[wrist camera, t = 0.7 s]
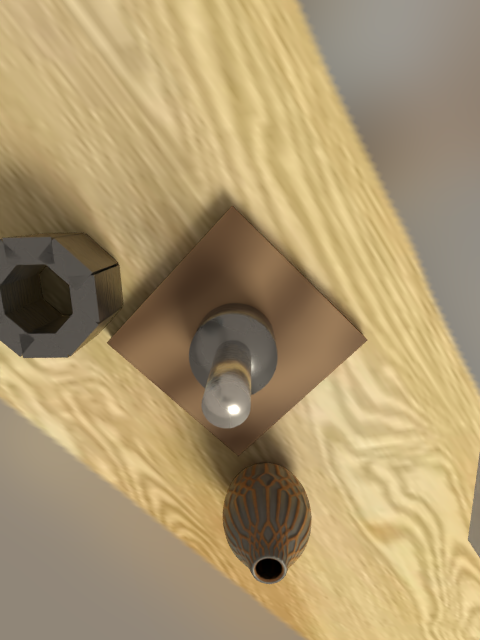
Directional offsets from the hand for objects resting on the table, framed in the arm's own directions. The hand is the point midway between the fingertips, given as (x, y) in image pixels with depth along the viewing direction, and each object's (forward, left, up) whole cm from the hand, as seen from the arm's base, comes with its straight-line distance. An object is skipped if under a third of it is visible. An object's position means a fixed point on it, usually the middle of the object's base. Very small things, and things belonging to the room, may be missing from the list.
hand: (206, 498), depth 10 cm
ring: (-10, -8, -22) cm, 25 cm away
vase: (+13, -10, -22) cm, 28 cm away
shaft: (+2, -2, -21) cm, 21 cm away
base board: (+2, -2, -22) cm, 22 cm away
